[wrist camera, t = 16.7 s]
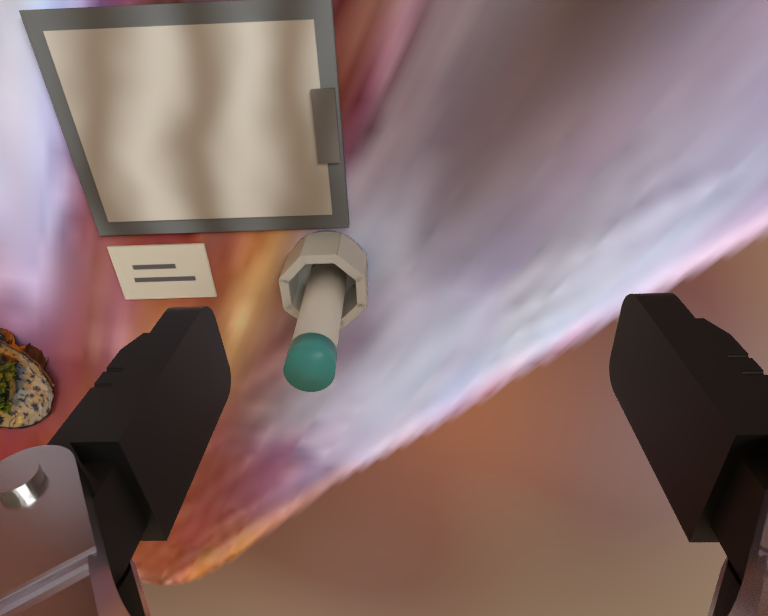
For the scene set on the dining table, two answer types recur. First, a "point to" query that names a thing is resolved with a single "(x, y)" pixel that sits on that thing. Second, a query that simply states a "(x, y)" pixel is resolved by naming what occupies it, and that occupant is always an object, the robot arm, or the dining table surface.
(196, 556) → the dining table surface
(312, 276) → the marker
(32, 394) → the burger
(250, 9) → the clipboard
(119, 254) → the word card
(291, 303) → the pen cup
